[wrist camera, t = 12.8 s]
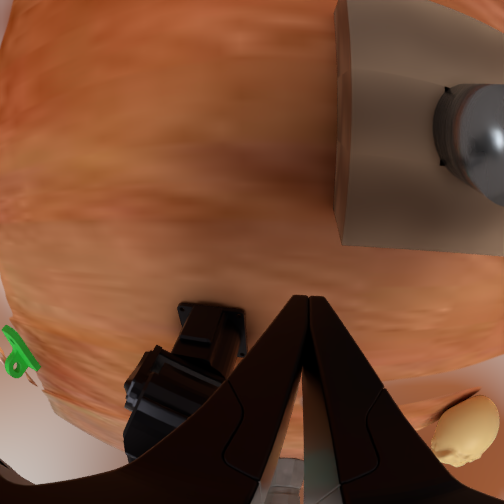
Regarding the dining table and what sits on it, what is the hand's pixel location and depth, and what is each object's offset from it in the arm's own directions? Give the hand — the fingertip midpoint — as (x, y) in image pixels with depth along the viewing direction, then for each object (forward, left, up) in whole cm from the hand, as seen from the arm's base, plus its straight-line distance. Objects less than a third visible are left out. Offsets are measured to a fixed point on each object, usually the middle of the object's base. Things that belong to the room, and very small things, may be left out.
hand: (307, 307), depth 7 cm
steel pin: (+5, -9, -12) cm, 16 cm away
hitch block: (+5, -9, -13) cm, 17 cm away
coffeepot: (-59, -2, -13) cm, 61 cm away
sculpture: (-33, -30, -13) cm, 47 cm away
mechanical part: (-35, +60, -14) cm, 71 cm away
